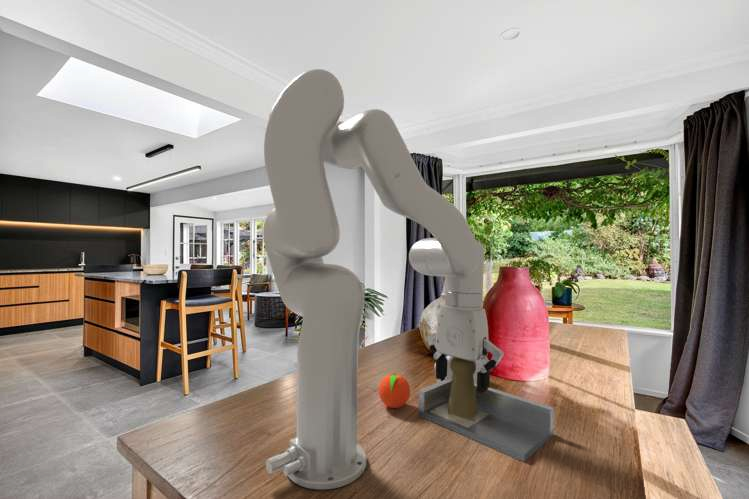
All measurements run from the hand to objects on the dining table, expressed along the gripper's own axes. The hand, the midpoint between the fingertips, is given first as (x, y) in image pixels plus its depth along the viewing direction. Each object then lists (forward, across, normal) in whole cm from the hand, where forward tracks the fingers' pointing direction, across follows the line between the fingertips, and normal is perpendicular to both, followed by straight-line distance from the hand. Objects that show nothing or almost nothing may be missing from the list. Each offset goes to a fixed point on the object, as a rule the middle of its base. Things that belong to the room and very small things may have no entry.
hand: (460, 384), depth 73 cm
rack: (+7, +5, +1) cm, 8 cm away
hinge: (+7, -10, +15) cm, 19 cm away
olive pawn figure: (+6, 0, +1) cm, 6 cm away
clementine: (+7, -12, -7) cm, 16 cm away
